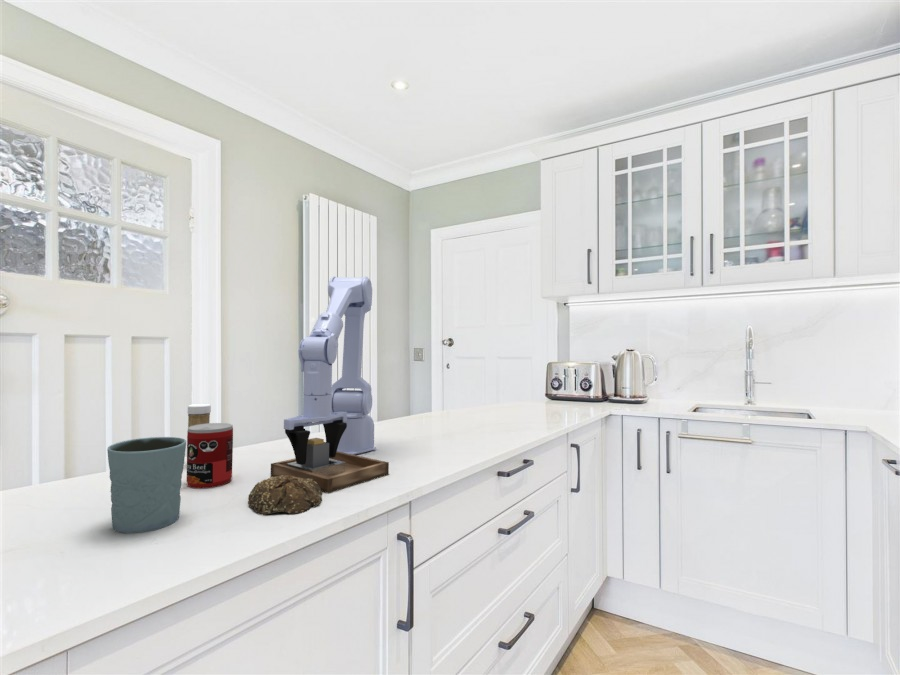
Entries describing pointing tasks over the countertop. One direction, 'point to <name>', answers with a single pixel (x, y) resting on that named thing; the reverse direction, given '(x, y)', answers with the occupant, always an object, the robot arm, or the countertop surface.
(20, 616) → the countertop surface
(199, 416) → the sprinkles bottle
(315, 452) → the block
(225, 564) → the countertop surface
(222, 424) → the canned food
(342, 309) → the robot arm
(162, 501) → the green plant pot
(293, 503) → the bread roll
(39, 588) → the countertop surface
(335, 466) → the socket
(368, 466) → the tray
